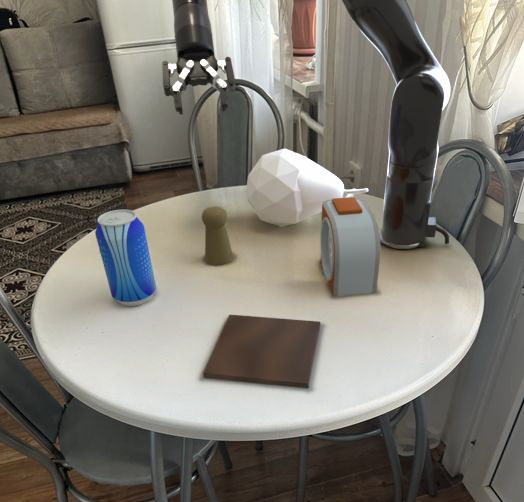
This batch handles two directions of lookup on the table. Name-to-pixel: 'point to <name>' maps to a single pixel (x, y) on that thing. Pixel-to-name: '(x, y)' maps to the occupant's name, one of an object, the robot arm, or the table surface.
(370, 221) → the alarm clock
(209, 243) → the olive game pawn
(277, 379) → the place mat
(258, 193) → the pear ornament
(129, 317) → the table surface
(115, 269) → the beer can
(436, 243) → the table surface
